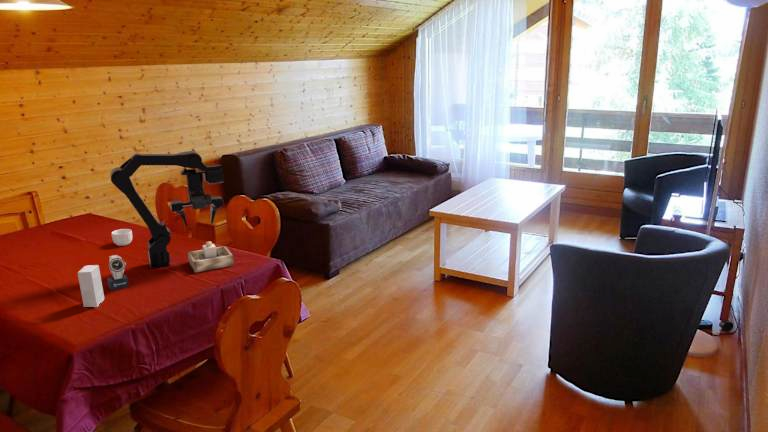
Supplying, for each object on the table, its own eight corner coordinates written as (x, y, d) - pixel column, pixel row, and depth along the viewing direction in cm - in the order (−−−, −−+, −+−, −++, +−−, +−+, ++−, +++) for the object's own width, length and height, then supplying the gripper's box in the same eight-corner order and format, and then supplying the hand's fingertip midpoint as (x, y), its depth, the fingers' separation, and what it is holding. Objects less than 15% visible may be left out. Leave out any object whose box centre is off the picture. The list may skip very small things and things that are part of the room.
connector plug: (206, 263, 208) (204, 244, 206) (204, 260, 211) (202, 241, 209) (217, 262, 210) (215, 242, 207) (215, 258, 213) (213, 239, 211)
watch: (112, 292, 186) (107, 261, 183) (107, 285, 192) (102, 254, 189) (130, 288, 189) (126, 257, 186) (124, 281, 196) (120, 251, 192)
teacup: (136, 243, 234) (135, 231, 232) (118, 248, 229) (116, 235, 227) (126, 238, 240) (124, 226, 239) (107, 243, 235) (105, 230, 234)
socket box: (195, 272, 202) (193, 262, 201) (188, 262, 212) (187, 252, 211) (233, 265, 209) (233, 255, 208) (226, 255, 219) (225, 245, 218)
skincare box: (91, 300, 181) (85, 265, 177) (104, 299, 181) (99, 264, 178) (83, 308, 175) (76, 272, 171) (97, 307, 175) (91, 271, 172)
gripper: (171, 192, 198) (176, 234, 203) (225, 187, 206) (228, 227, 211) (167, 186, 208) (172, 226, 212) (219, 181, 216) (222, 220, 220)
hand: (199, 225), depth 214 cm, fingers open, 9 cm apart
